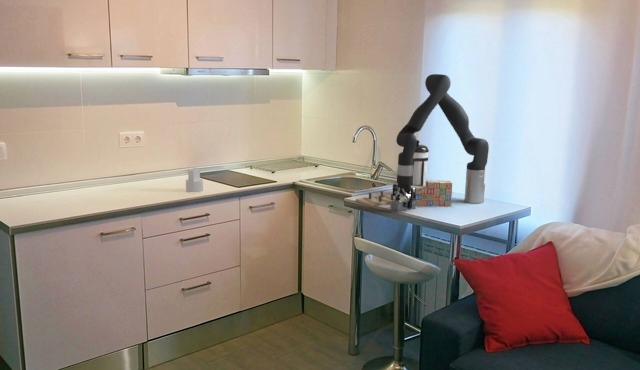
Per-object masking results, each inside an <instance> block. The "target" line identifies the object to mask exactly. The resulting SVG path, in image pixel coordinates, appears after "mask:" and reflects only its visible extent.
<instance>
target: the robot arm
mask: <svg viewBox="0 0 640 370" xmlns="http://www.w3.org/2000/svg"><path fill="white" fill-rule="evenodd" d="M424 84H425V88H426V91H427V93H429V95H428V97H427V98H426V99H425V100H424V101H423V102H422V103H421V104H420V105H419V106H418V107H417V108H416V109H415V110H414V112H413V113H412V115H411V117H409V118H410V119H409V120H408V122H407V123H406V124H405V125H404V126H403V127H402V129H401V130H400V131H399V132H398V133H397V136H396V144H397V145H398V146H400V147H401V148H402V147H403V149H402V151H401V152H400V153H398V157H397V168H396V183H394V184H392V192H391V194H392V195H393V196H395V201H396V200H400V198H401V196H402V195H403V196H404V197H405V199H407V200H408V201H407V208H408V209H411V208H412V201H413V200H416V188H411V184H412V178H413V155H414V152H415V149H416V144H417V140H418V139H417V137H416V135H415V133H419V132H420V131H421V130H422V129H423V127H424V125H425V123H426V122H427V119H428V118H429V116H430V115H431V114H432V112H433V110H434V109H436V106H439V108H440V109H441V111H442V113H443V115H444V116H445V118H446V119H447V120H448V122H449V124H450V125H451V127H452V129H453V130H454V132H455V133H456V136H458V139H459V140H460V142H461V144H462V146H463V149H464V150H465V152H466V154H468V155H469V156H473V158H472V160H471V161H470V162H467V163H466V170H465V171H466V173H465V175H466V176H465V188H464V202H466V203H470V204H482V203H484V201H485V191H486V188H485V187H486V184H485V177H486V176H485V172H486V166H487V163H488V159H489V158H488V157H489V149H490V145H489V142H488V141H487V140H486V139H485V138H479V137H475V136H474V134H473V133H472V131H471V129H470V121H469V116H468V114H467V113H466V110H465V109H464V107H463V106H462V105H461V104H460V103H459V102H458V101H457V100H455V99H454V98H453V97H452V96H450V94H449V93H448V91H449V90H450V88H451V79H450V77H449V76H448V75H446V74H440V73H439V74H437V73H434V74H429V75H428V76H427V77H426V79H425V82H424ZM408 194H409V195H408ZM409 197H410V199H409Z"/></svg>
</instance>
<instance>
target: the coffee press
mask: <svg viewBox="0 0 640 370" xmlns="http://www.w3.org/2000/svg"><path fill="white" fill-rule="evenodd" d="M416 140H417V144H416V149H415V152H414V155H413V178H412V184H411V186H425V184H426V180H428V179H427V178H428V161H429V152H430V150H429V148H428V146H426V145H425V144H420V140H419V139H416Z"/></svg>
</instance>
